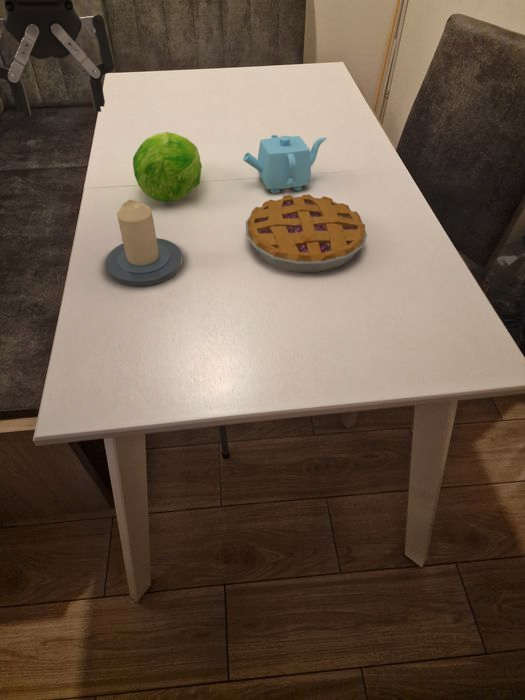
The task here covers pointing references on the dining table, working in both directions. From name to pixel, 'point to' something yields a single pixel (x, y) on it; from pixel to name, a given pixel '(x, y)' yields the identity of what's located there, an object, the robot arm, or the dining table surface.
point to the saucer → (146, 274)
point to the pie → (305, 233)
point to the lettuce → (167, 167)
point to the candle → (138, 233)
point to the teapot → (284, 162)
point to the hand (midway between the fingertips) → (64, 113)
